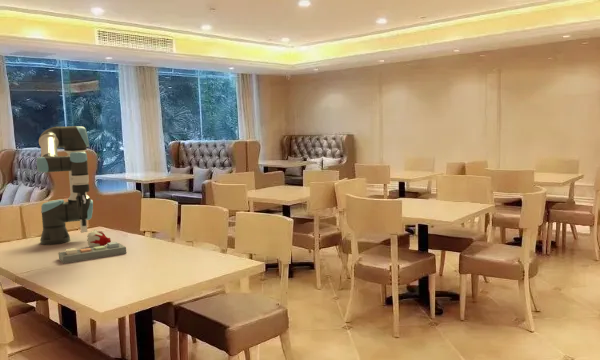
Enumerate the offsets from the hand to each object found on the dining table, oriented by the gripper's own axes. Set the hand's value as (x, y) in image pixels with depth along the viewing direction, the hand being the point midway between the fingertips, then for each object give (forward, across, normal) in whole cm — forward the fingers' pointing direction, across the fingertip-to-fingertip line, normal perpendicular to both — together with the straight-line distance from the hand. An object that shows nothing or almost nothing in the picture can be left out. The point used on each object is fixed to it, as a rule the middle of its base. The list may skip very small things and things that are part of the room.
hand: (84, 232), depth 247 cm
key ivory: (+10, 0, -6) cm, 12 cm away
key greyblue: (+10, 0, +13) cm, 16 cm away
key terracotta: (+11, 0, 0) cm, 11 cm away
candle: (+13, -18, +11) cm, 25 cm away
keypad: (+12, 0, +3) cm, 13 cm away
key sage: (+11, 0, +6) cm, 13 cm away
